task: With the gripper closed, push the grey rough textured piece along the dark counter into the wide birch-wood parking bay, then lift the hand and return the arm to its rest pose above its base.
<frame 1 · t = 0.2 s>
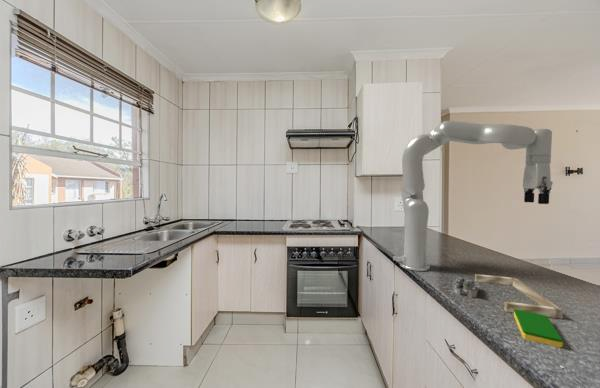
hand: (535, 203, 106), 31 cm above the worktop, tool pointing down, fingers open, 9 cm apart
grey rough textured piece: (465, 292, 93), on the worktop
parking bay: (512, 296, 89), on the worktop
dish sponge: (535, 332, 69), on the worktop
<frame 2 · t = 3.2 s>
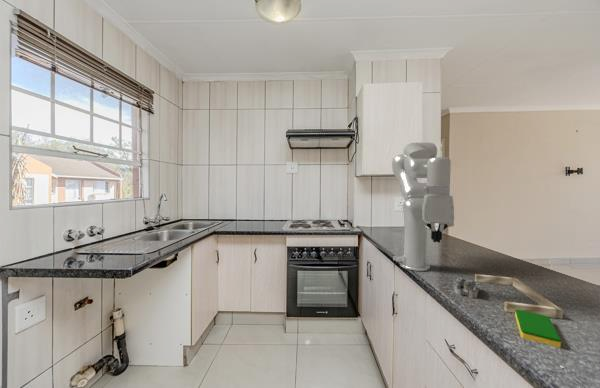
hand: (436, 241, 96), 17 cm above the worktop, tool pointing down, fingers closed
nothing on the worktop moved.
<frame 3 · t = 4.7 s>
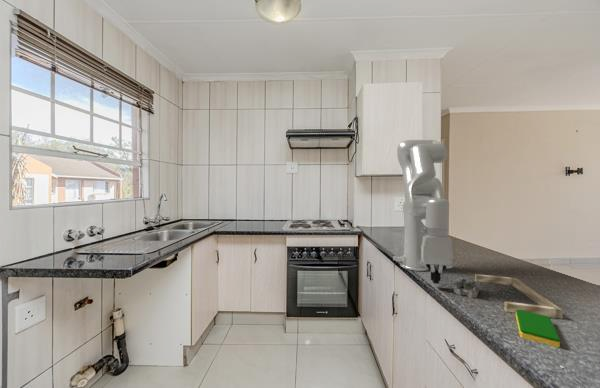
hand: (435, 282, 96), 2 cm above the worktop, tool pointing down, fingers closed
nothing on the worktop moved.
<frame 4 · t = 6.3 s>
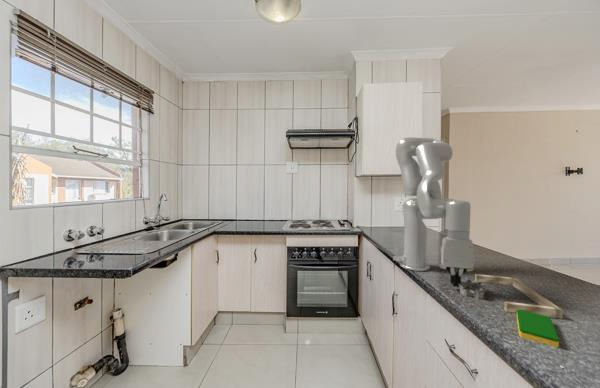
hand: (455, 285, 94), 2 cm above the worktop, tool pointing down, fingers closed
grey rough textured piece: (472, 293, 93), on the worktop
everything else where it was.
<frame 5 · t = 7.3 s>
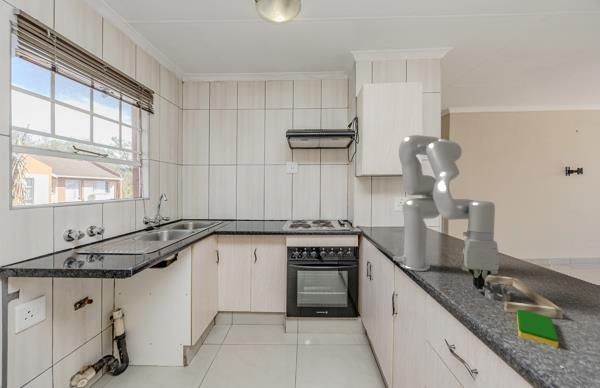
hand: (478, 287, 92), 2 cm above the worktop, tool pointing down, fingers closed
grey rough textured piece: (495, 296, 91), on the worktop, touching gripper
everything else where it was.
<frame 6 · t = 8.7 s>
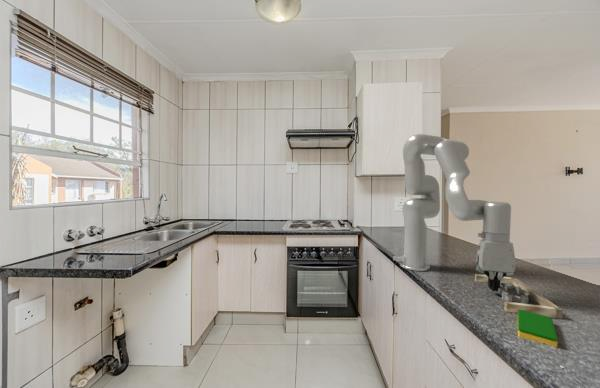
hand: (493, 289, 91), 2 cm above the worktop, tool pointing down, fingers closed
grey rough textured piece: (511, 298, 89), on the worktop
everything else where it was.
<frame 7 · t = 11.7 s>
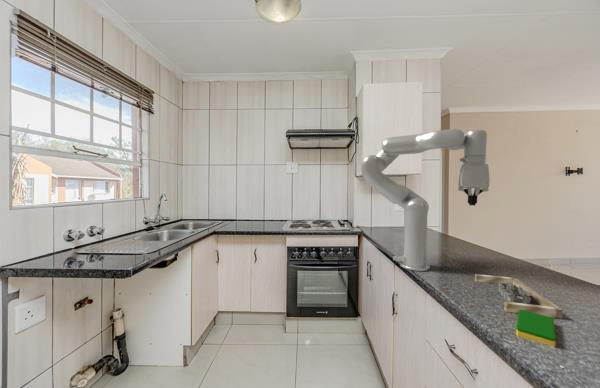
hand: (472, 205, 109), 30 cm above the worktop, tool pointing down, fingers closed
nothing on the worktop moved.
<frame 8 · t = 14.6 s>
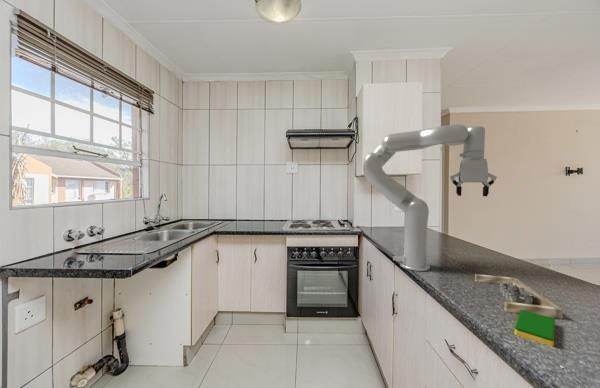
hand: (471, 195, 113), 33 cm above the worktop, tool pointing down, fingers open, 9 cm apart
nothing on the worktop moved.
at the end: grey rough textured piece inside the target area on the parking bay (1.2 cm from its centre), point -0.5 cm above the parking bay's base; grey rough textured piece tilted 0°; the gripper is holding nothing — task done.
